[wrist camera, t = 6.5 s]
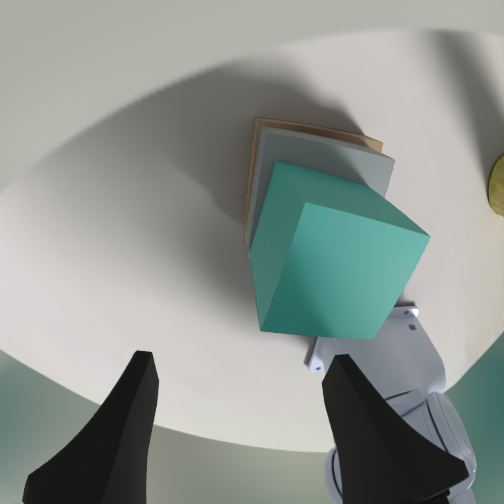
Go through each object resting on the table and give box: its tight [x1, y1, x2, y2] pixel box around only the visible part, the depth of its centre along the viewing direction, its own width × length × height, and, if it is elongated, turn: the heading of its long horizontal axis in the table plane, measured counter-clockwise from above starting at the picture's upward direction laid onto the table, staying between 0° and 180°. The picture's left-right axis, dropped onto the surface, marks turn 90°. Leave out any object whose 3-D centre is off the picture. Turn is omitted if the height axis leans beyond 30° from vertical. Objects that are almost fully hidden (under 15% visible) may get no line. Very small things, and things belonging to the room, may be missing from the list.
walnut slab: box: [243, 117, 383, 244], centre depth 17 cm, size 7×7×3 cm
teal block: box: [250, 160, 430, 340], centre depth 11 cm, size 4×4×5 cm
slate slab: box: [245, 126, 395, 260], centre depth 14 cm, size 6×6×3 cm
